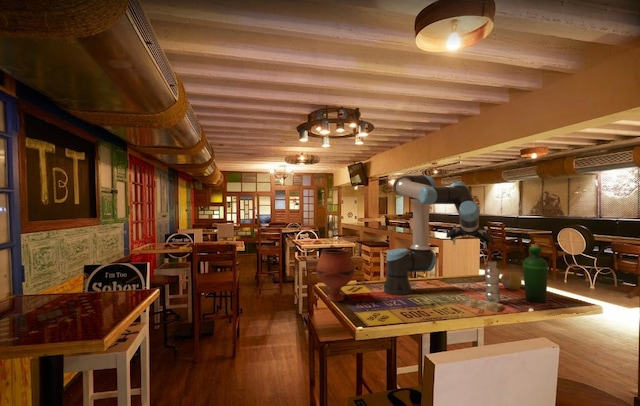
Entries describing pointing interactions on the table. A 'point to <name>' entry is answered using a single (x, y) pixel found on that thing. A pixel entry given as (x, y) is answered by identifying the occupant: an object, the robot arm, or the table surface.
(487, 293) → the plastic bottle
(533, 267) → the bottle
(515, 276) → the fruit
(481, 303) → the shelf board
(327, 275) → the goblet
